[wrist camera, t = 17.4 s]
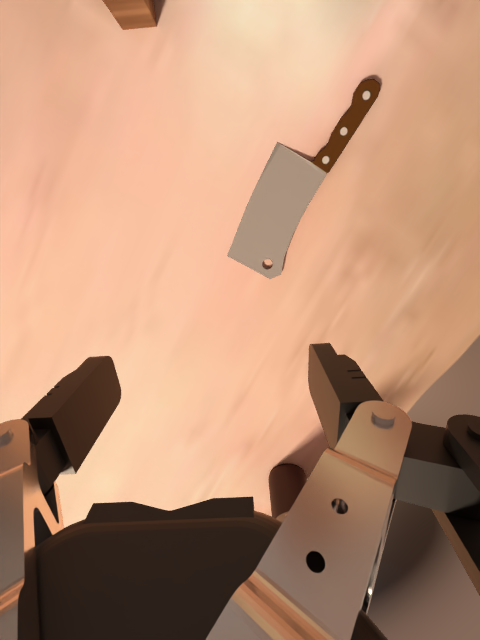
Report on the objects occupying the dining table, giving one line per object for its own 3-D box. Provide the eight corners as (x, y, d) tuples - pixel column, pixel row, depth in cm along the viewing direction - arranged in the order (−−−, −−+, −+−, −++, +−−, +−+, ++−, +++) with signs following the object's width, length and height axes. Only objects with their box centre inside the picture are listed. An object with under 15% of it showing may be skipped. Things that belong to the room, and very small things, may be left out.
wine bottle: (311, 467, 52) (387, 762, 25) (297, 491, 55) (353, 783, 27) (275, 459, 52) (313, 753, 24) (263, 484, 54) (285, 776, 27)
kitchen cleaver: (322, 37, 28) (399, 97, 30) (320, 43, 29) (394, 101, 31) (209, 247, 37) (272, 286, 38) (210, 246, 38) (272, 284, 39)
